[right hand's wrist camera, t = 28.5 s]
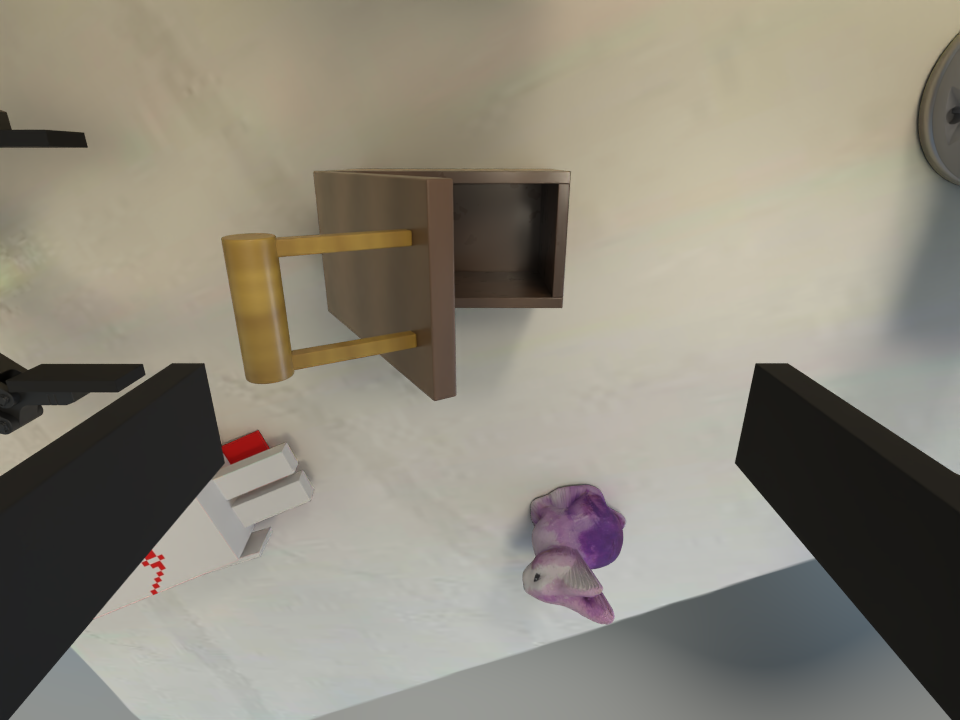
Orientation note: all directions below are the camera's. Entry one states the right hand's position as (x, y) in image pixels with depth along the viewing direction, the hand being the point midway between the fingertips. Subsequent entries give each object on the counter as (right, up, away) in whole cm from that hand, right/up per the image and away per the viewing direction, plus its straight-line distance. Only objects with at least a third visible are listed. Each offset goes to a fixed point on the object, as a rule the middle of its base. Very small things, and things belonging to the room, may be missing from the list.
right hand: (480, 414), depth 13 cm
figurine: (+10, -17, +48) cm, 52 cm away
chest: (-2, +14, +36) cm, 39 cm away
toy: (-33, -14, +47) cm, 59 cm away
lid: (-6, +7, +18) cm, 20 cm away
